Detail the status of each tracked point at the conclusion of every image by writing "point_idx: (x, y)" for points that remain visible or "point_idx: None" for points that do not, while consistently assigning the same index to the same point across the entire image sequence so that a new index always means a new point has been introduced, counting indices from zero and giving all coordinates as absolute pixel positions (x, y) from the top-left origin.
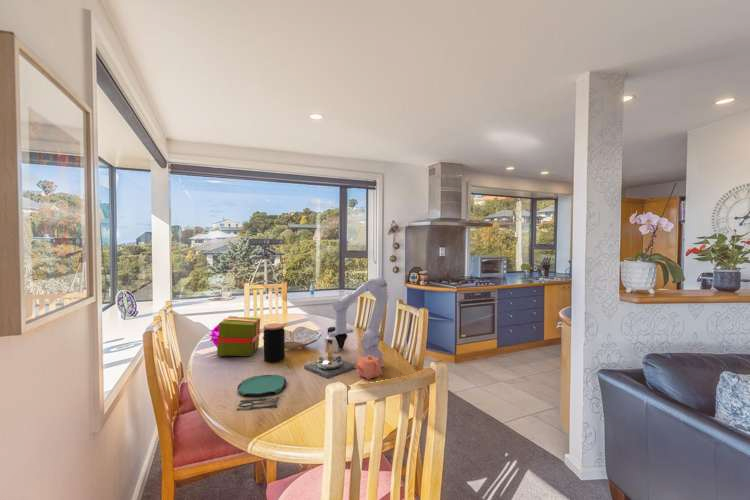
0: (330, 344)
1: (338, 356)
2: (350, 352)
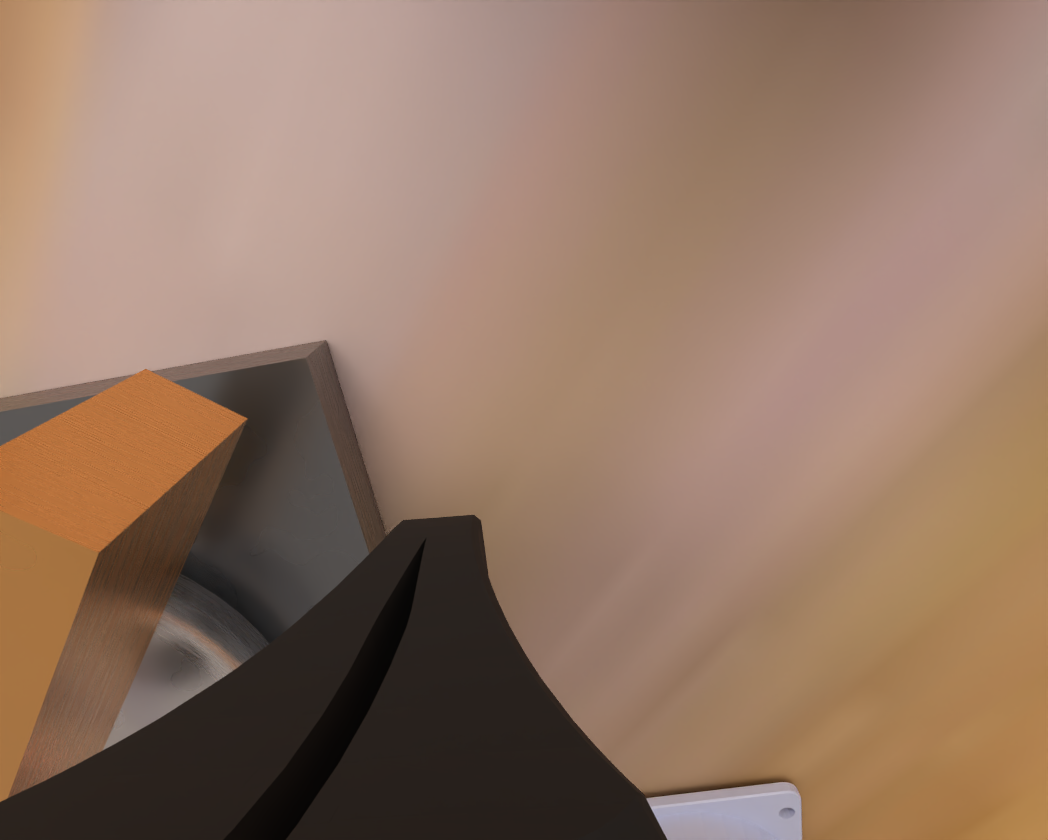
0: (7, 531)
1: None
2: (942, 125)
